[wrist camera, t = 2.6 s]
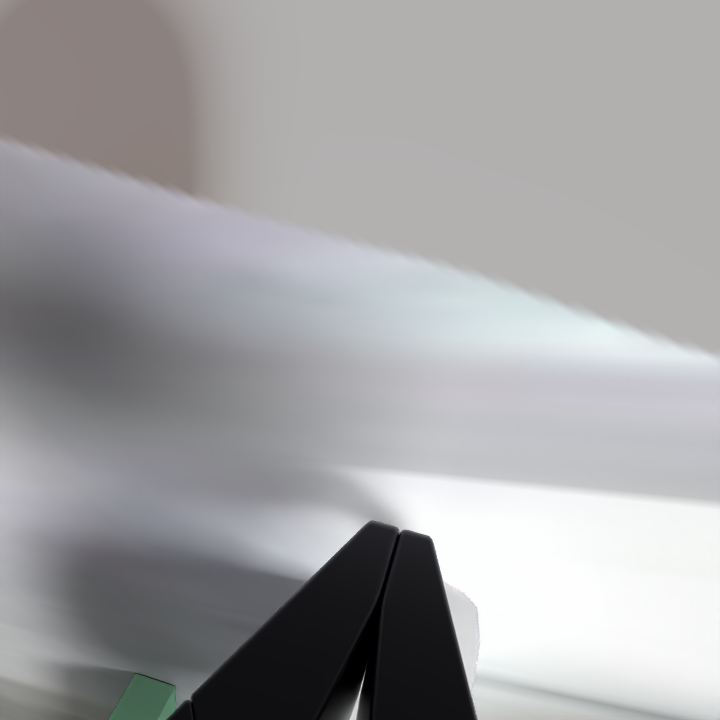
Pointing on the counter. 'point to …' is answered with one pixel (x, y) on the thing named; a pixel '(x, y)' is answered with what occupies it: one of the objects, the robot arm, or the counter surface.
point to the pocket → (145, 700)
